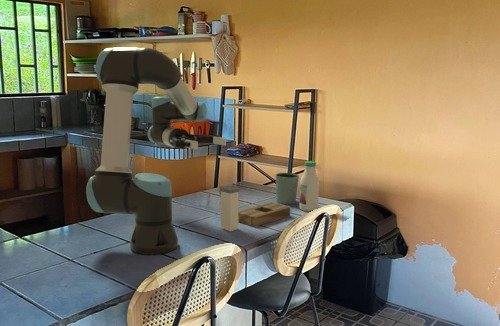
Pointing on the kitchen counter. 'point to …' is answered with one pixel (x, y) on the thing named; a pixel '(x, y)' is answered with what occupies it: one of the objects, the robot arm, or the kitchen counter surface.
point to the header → (263, 214)
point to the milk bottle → (309, 188)
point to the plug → (229, 208)
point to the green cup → (286, 188)
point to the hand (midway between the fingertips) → (211, 143)
